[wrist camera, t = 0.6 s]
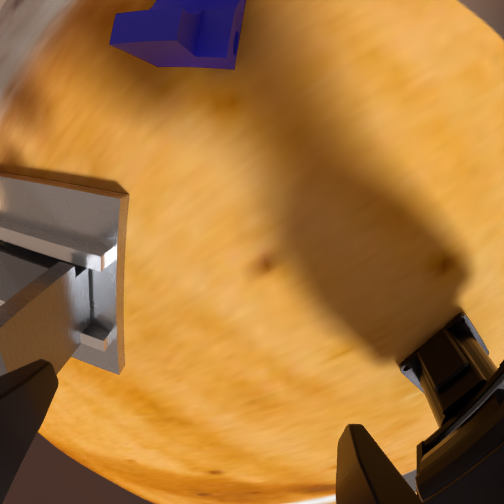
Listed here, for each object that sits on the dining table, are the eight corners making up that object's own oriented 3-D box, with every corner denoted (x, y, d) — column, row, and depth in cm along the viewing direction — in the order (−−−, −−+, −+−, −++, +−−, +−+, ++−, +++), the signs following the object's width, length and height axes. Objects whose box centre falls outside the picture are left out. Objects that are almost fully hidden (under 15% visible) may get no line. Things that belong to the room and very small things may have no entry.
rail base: (129, 194, 18) (85, 216, 13) (124, 365, 23) (100, 407, 19) (-39, 166, 18) (-78, 178, 13) (-24, 299, 23) (-53, 322, 18)
